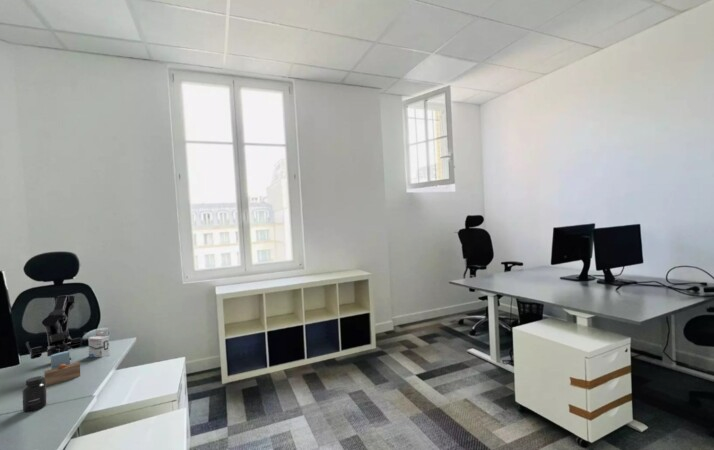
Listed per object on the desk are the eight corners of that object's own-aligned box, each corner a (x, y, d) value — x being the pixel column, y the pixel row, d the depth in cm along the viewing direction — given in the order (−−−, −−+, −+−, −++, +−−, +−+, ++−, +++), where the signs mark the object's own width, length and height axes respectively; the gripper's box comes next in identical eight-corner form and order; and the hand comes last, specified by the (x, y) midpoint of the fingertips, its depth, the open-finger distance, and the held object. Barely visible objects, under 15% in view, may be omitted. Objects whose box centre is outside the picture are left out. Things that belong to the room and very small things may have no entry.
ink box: (88, 359, 178) (87, 332, 178) (96, 355, 183) (95, 329, 183) (102, 359, 177) (101, 332, 177) (110, 355, 182) (109, 329, 182)
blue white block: (51, 377, 155) (50, 354, 154) (69, 372, 160) (67, 350, 159) (52, 379, 152) (51, 356, 152) (70, 374, 157) (69, 352, 157)
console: (42, 380, 154) (41, 363, 154) (75, 370, 164) (74, 355, 163) (46, 388, 146) (45, 370, 146) (80, 378, 155) (79, 361, 155)
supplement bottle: (31, 413, 126) (30, 383, 126) (18, 412, 128) (16, 382, 127) (51, 403, 133) (50, 375, 133) (38, 402, 134) (37, 374, 134)
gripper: (29, 332, 153) (33, 360, 146) (80, 321, 168) (85, 347, 160) (29, 344, 159) (32, 373, 151) (78, 333, 173) (83, 359, 166)
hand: (59, 362), depth 157 cm, fingers closed, pressing on blue white block
